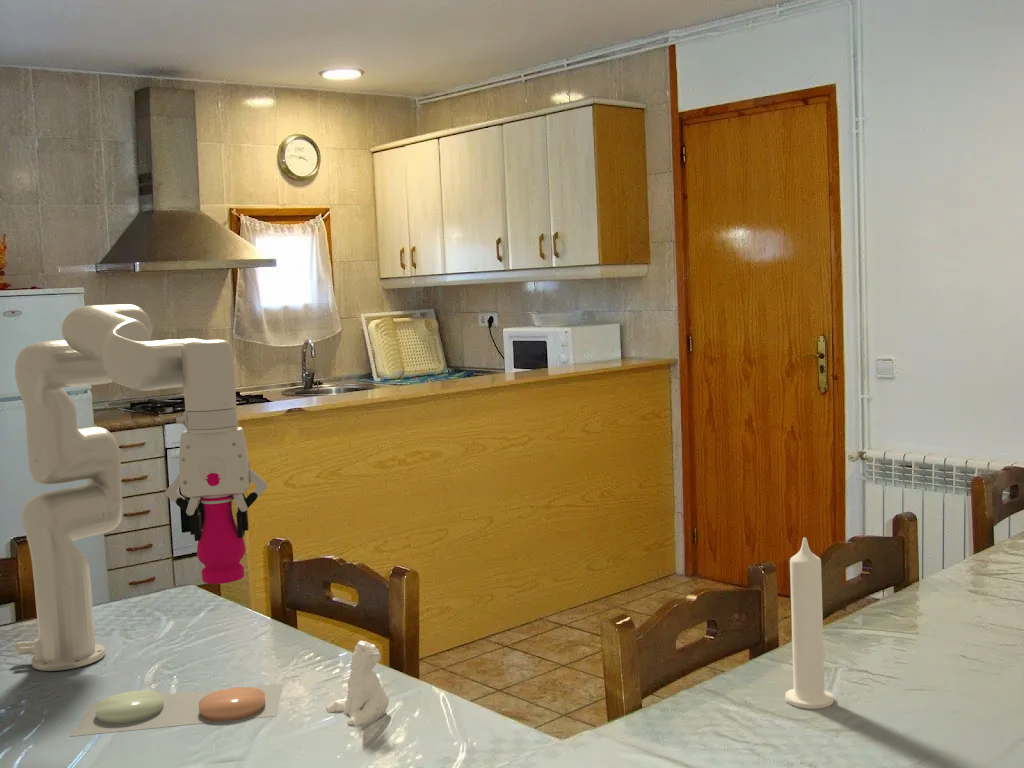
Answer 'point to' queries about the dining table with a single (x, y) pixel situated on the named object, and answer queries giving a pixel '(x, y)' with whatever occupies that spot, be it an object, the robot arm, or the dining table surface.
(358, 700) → the sitting furry creature
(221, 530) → the pepper mill
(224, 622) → the dining table surface
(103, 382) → the robot arm
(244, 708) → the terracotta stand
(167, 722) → the board
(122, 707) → the pale green domed disc
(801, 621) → the candle
